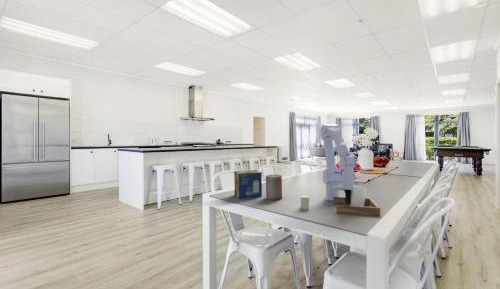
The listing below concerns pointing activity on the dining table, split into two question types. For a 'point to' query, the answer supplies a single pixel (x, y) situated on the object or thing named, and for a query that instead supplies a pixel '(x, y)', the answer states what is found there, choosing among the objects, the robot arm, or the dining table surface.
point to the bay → (357, 207)
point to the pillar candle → (274, 187)
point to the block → (304, 202)
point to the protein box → (248, 183)
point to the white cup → (357, 197)
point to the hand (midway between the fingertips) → (347, 204)
